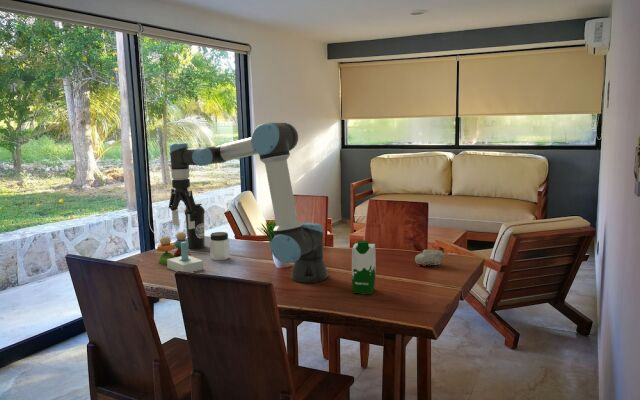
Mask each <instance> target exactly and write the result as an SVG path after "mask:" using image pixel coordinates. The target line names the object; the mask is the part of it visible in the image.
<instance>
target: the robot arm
mask: <svg viewBox="0 0 640 400" xmlns="http://www.w3.org/2000/svg"><path fill="white" fill-rule="evenodd" d="M298 142H299V134H298V131H297V129H296V127H295V126H293V125H292V124H291V123H287V122H265V123H260V124H258V125H257V126H256V127H255V128H254V129H253V132H252V133H251V136H250V137H248V138H242V139H239V140H235V141H232V142H227V143H223V144H219V145H216V146H201V147H189V146H188V143H187V142H177V143H176V142H174V143H171V144H170V146H169V156H170V157H169V158H170V170H171V171H170V172H171V173H170V174H171V179H172V180H171V186H172V187H171V189H170V192H171V193H170V198H169V202H168V203H169V204H168V209H170V211H171V219H172V226H176V225H177V226H178V225H180V221H179V217H180V216H179V208H178V207H179V205H180V203H181V202H182V203H183V204H184V206H185V209H186V208H187V210H188V228H189V229H193V228H195V219H194V213H196V212H197V208H196V205H195V204H196V202H195V199H194V198H195V197H194V196H193V190H189V189H188V188H190V187H191V184H190V183H191V180H190V179H189V178H190V166H199V167H203V166H204V167H205V166H208V165H209V166H210V165H213V164H214V165H215V164H224V163H226V162H229V161H232V160H233V161H234V160H238V159H241V158H245V157H250V156H255V155H258V156H259V161H260V162H262V163H263V164H264V166H265V167H264V168H265V172H266V177H267V184H268V187H269V193H270V199H271V204H272V205H271V206H272V208H273V210H272V211H273V214H274V215H273V216H274V220H275V226H274V228H273V229H272V232H273V236H274V237H273V238H272V240H271V242H270V252H271V253H272V255H273V257H274V258H275V259H276V260H278V262H280V263H283V264H291V263H293V267H292V270H291V273H290V275H291V279H292V280H293V281H295V282H297V283H307V284H308V283H309V284H310V283H311V284H312V283H319V281H320V282H323V281H326V280H327V279H328V278H327V277H328V275H329V274H328V270H327V266H326V264H325V260H324V228H323V225H322V224H320V223H316V222H300V220H299V219H298V214H297V208H296V203H295V197H294V192H293V186H292V181H291V176H290V170H289V164H288V159H289V157H290V156H291V153H290V151H292V150H293V149H294V148H296V146H297V144H298ZM326 278H327V279H326ZM325 279H326V280H325Z"/></svg>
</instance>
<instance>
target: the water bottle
mask: <svg viewBox="0 0 640 400" xmlns="http://www.w3.org/2000/svg"><path fill="white" fill-rule="evenodd" d="M195 205H196V208H197V212H196V213H194V219H195V228H193V229H189V228H188V210H187V208H186V207H185V209H184V215H185V216H184V217H185V227H186V240H187V242H188V244H189V245H188V250H199V249H203V248H205V247H206V246H205V245H206V244H205V213H206V212H205V208H204V207H203V204H202V203H195Z"/></svg>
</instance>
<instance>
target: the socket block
mask: <svg viewBox="0 0 640 400" xmlns="http://www.w3.org/2000/svg"><path fill="white" fill-rule="evenodd" d="M188 257H189V261H184V262H182V256H181V255H180V256H176V257H175V258H171V259H167V264H166V266H167V269H169V270H172V271H174V272H177V271H187V272H191V273H195V272H198V271H203V270H205V269H204V267H205V266H204V260H203V259H200V258H197V257H195V258H194V257H191V256H188ZM194 271H195V272H194Z"/></svg>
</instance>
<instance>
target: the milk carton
mask: <svg viewBox="0 0 640 400" xmlns="http://www.w3.org/2000/svg"><path fill="white" fill-rule="evenodd" d="M376 253H377V251H376V244H375V243H369V241H368V240H365V239H364V240H363V239H362V240H358V241H357V243H354V244H353V247H352V249H351V284H352V294H353V293H365V294H372V295H373V292H374V290H373V289H375V283H376V276H377V275H376V269H377V267H376V263H377V261H376V258H377V257H376V255H377V254H376Z"/></svg>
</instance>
